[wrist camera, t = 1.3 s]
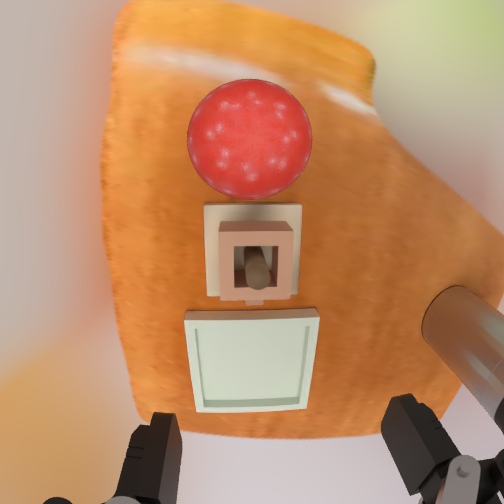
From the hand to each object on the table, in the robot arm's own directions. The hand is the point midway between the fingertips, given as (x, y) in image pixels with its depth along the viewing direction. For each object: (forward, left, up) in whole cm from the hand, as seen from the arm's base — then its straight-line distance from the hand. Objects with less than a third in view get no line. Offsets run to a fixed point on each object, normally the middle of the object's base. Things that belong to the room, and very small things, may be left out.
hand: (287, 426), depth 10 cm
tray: (0, +14, -22) cm, 26 cm away
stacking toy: (+1, -10, -22) cm, 24 cm away
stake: (0, 0, -22) cm, 22 cm away
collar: (0, 0, -20) cm, 20 cm away
